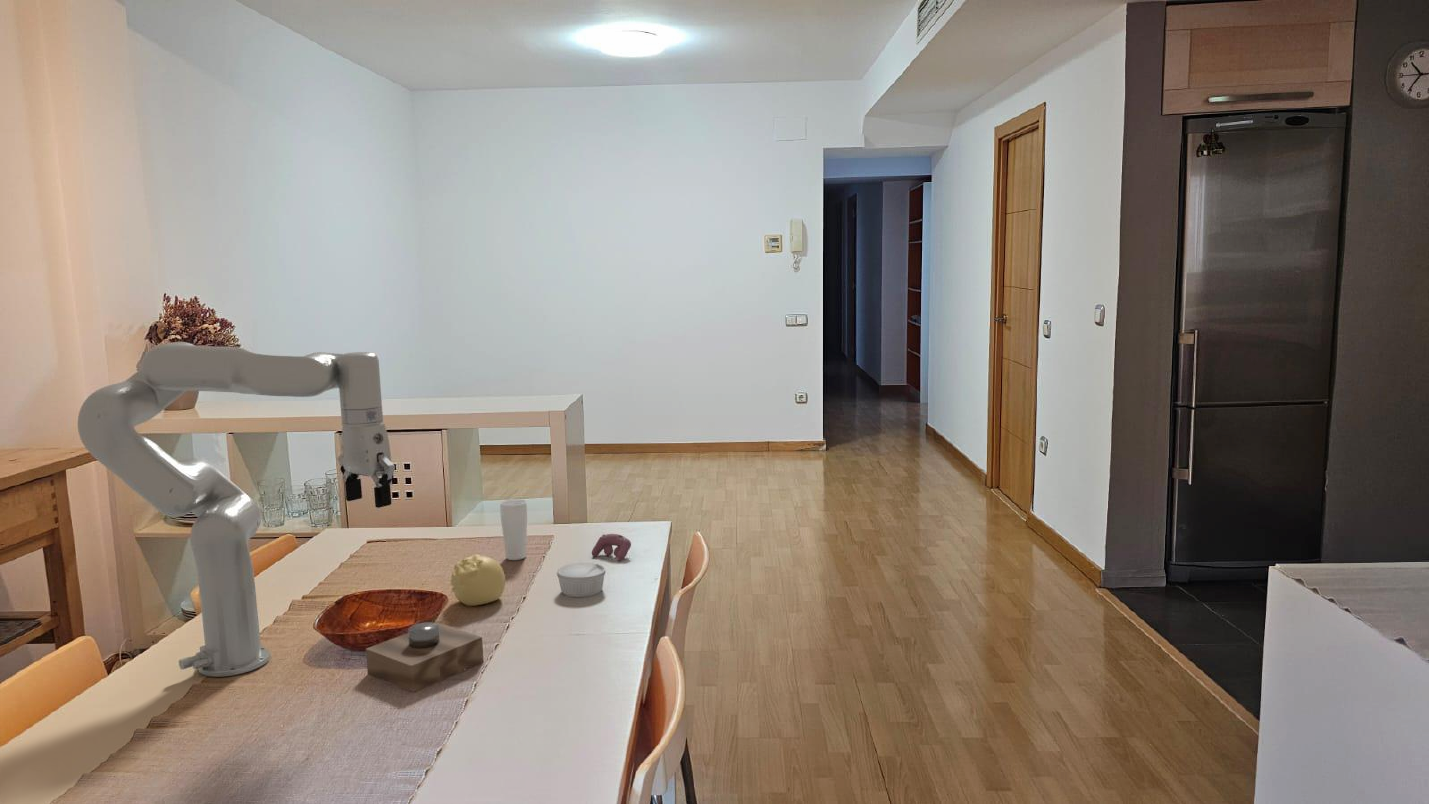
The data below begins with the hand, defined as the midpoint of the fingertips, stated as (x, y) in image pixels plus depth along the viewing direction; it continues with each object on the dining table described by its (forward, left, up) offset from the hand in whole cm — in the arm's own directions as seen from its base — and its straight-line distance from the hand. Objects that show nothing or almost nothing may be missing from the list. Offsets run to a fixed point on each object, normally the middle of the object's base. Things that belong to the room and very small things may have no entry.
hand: (368, 502), depth 185 cm
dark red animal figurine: (+72, +3, -31) cm, 78 cm away
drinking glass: (+57, +24, -31) cm, 69 cm away
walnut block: (0, -15, -30) cm, 34 cm away
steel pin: (0, -15, -30) cm, 33 cm away
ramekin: (+48, -9, -31) cm, 58 cm away
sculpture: (+30, +6, -31) cm, 43 cm away
